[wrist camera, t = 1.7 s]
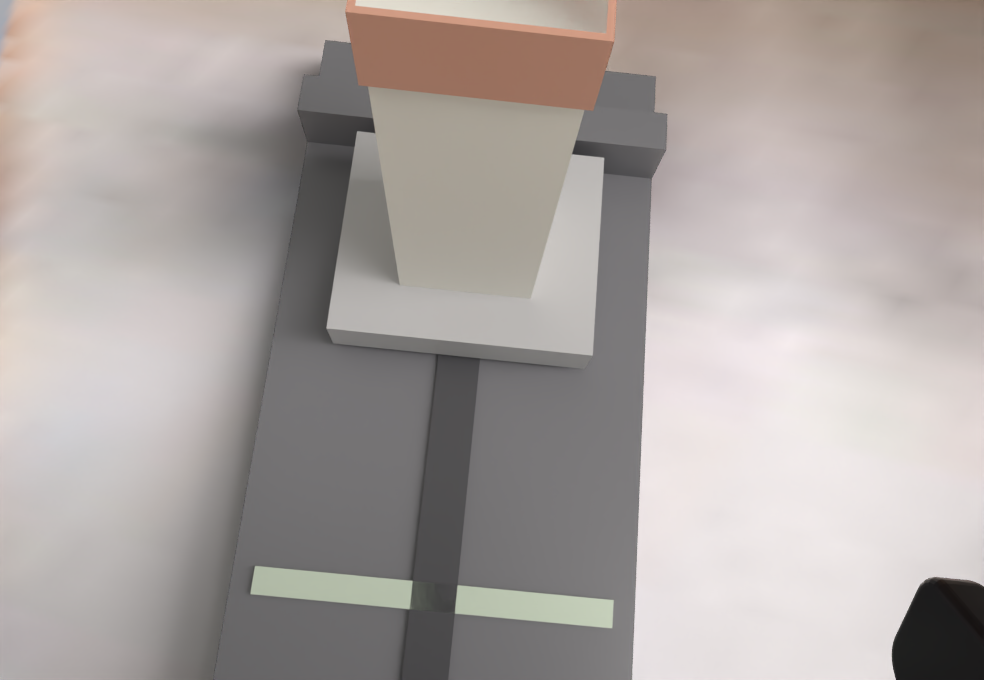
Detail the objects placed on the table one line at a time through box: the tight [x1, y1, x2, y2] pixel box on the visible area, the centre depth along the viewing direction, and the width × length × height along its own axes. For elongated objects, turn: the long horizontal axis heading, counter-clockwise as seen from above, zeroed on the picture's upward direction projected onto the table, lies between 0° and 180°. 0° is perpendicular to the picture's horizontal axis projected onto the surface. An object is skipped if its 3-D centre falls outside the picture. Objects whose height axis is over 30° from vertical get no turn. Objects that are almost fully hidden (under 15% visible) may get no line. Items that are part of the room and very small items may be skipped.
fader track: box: [213, 40, 667, 680], centre depth 19 cm, size 22×9×3 cm, turn 175°
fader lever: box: [326, 0, 617, 369], centre depth 15 cm, size 5×6×11 cm
